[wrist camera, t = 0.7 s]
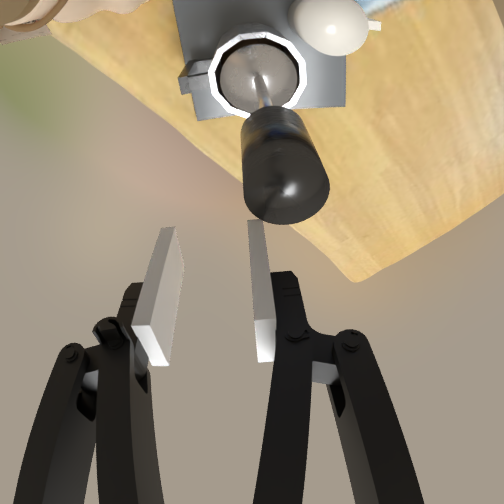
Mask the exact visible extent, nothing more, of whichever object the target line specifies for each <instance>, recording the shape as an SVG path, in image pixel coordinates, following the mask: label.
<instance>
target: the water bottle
mask: <svg viewBox="0 0 504 504" xmlns="http://www.w3.org/2000/svg"><path fill="white" fill-rule="evenodd" d="M148 1H149V0H0V43H1V44H2V45H3V44H7V43H11V42H15V41H20V40H24V39H29V38H34V37H39V36H45V35H50V34H51V32H50V30H49V28H48V27H47V25H46V24H47V23H48V22H50V21H51V20H52V19H53V20H55V21H57V22H61V23H70V22H77V21H80V20H83V19H86V18H88V17H90V16H91V15H93V14H95V13H97V12H99V11H102V10H109V11H112V12H115V13H118V14H127V13H131V12H133V11H134V10H136V9H137V8H138V7H139V6H140V5H141V4H143V3H146V2H148Z"/></svg>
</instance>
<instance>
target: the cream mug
mask: <svg viewBox="0 0 504 504" xmlns="http://www.w3.org/2000/svg"><path fill="white" fill-rule="evenodd" d="M288 23H289V26H290V28H291V29H292V31H293V32H294V33H295V34H296V35H297V36H298V37H299V38H301V39H302V40H304V41H305V42H306V43H308V44H309V45H310V46H312V47H313V48H315V49H316V50H317V51H319V52H321V53H324V54H327V55H331V56H343V55H347V54H350V53H353V52H354V51H356V50H357V49H359V48H360V47H361V46H362V45H363V43H364V42H365V40H366V38H367V35H368V30H378V31H381V22H380V21H377V20H373V19H370V18H367V16H366V14H365V12H364V10H363V9H362V8H361V6H360V5H359V4H358V3H356V2H355V1H354V0H294V2H293V3H292V4H291V6H290V8H289V10H288Z"/></svg>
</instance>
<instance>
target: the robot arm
mask: <svg viewBox="0 0 504 504" xmlns="http://www.w3.org/2000/svg"><path fill="white" fill-rule="evenodd" d="M248 235H249V249H250V265H251V278H252V279H251V280H252V294H253V309H254V321H255V333H256V343H257V355H258V362H270V361H274V365H273V373H272V380H271V388H270V396H269V403H268V410H267V416H266V424H265V431H264V437H263V444H262V450H261V457H260V463H259V469H258V476H257V482H256V488H255V494H254V499H253V504H302V498H303V490H304V481H305V471H306V460H307V448H308V436H309V421H310V405H311V387H312V382H317V383H323V384H326V386H327V390H328V393H329V397H330V401H331V405H332V409H333V413H334V417H335V420H336V424H337V428H338V432H339V436H340V440H341V444H342V448H343V452H344V457H345V461H346V465H347V469H348V473H349V477H350V482H351V486H352V490H353V495H354V499H355V504H424V501H423V497H422V494H421V490H420V487H419V483H418V480H417V476H416V473H415V470H414V467H413V463H412V460H411V457H410V454H409V451H408V448H407V445H406V441H405V439H404V435H403V432H402V430H401V427H400V424H399V421H398V418H397V415H396V412H395V409H394V407H393V404H392V401H391V398H390V396H389V393H388V390H387V387H386V385H385V382H384V380H383V377H382V375H381V372H380V369H379V367H378V364H377V361H376V359H375V356H374V354H373V351H372V349H371V347H370V344H369V342H368V339H367V338H366V336H365V335H364V334H362V333H361V332H359V331H357V330H353V329H349V330H344V331H341V332H339V333H338V334H337V335H336V336H332V335H325V334H321V333H318V332H317V331H315V330H313V329H312V328H311V327H310V326H309V324H308V322H307V318H306V313H305V309H304V304H303V300H302V296H301V291H300V288H299V283H298V278H297V277H296V276H295V275H294V274H293V272H292V271H283V272H273V273H272V272H271V273H270V269H269V262H268V255H267V247H266V241H265V233H264V226H263V220H261V219H257V220H248ZM184 269H185V266H184V262H183V258H182V254H181V250H180V246H179V241H178V237H177V233H176V229H175V227H166V228H161V230H160V233H159V236H158V239H157V242H156V245H155V248H154V251H153V254H152V257H151V260H150V263H149V266H148V270H147V273H146V276H145V279H144V282H140V283H131V285H130V286H129V287H128V288H127V289H126V291H125V293H124V296H123V301H122V302H121V305H120V308H119V311H118V314H117V317H107V318H104V319H102V320H100V321H99V322H98V323H97V324H96V325H95V326H94V328H93V331H92V332H93V334H94V335H95V337H96V338H97V340H98V342H99V343H100V344H99V345H97V346H93V347H89V348H86V349H84V348H83V347H82V346H81V345H80V344H78V343H70V344H68V345H66V346H65V347H64V348H63V349H62V350H61V352H60V353H59V355H58V358H57V360H56V362H55V365H54V367H53V370H52V372H51V375H50V378H49V380H48V383H47V386H46V388H45V391H44V394H43V397H42V399H41V402H40V405H39V408H38V411H37V414H36V417H35V420H34V423H33V426H32V430H31V433H30V436H29V440H28V443H27V447H26V450H25V454H24V458H23V462H22V466H21V470H20V474H19V478H18V483H17V487H16V493H15V497H14V502H13V504H84V499H85V494H86V488H87V482H88V476H89V472H90V467H91V462H92V457H93V452H94V448H95V443H96V456H97V457H96V458H97V459H96V460H97V480H98V495H99V504H164V499H163V493H162V487H161V480H160V473H159V466H158V458H157V450H156V441H155V432H154V421H153V409H152V395H151V379H150V372H149V370H148V368H147V365H148V360H150V362H151V364H152V366H169V363H170V356H171V349H172V342H173V335H174V328H175V322H176V316H177V309H178V303H179V297H180V292H181V285H182V279H183V274H184Z"/></svg>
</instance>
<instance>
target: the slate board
mask: <svg viewBox="0 0 504 504" xmlns="http://www.w3.org/2000/svg"><path fill="white" fill-rule="evenodd" d="M293 2H294V0H173V6H174V11H175V16H176V21H177V26H178V31H179V36H180V41H181V46H182V50H183V55H184V60H185V65H186V64H187V63H188V61H189V60H194V59H197V60H202V59H207V58H213V55H214V52H215V50H216V47H217V45H218V43H219V41H220V38H221V36H222V35H223V34H224V33H226V32H227V31H228V30H230V29H231V28H233V27H234V26H236V25H237V24H243V23H253V22H259V23H262V24H264V25H267V26H269V27H271V28H274V29H276V30H277V31H278V32H280V33H281V34H282V35H283V36H284V37H285V38H287V39H288V40H289V41H290V42H291V43H292V44H293V46H294V47H295V49H296V50H297V51H298V53H299V54H300V55H301V57H302V58H303V60H304V61H305V70H306V86H305V88H304V89H303V91H302V93H301V95H300V96H299V98H298V100H297V102H296V104H295V105H293V106H292V107H290V108H289V109H304V108H323V107H345V98H346V55H343V56H331V55H327V54H324V53H321V52H319V51H317V50H316V49H315V48H313V47H312V46H310V45H309V44H308V43H306V42H305V41H304V40H302V39H301V38H299V37H298V36H297V35H296V34H295V33H294V32H293V31H292V29H291V28H290V26H289V23H288V10H289V8H290V6H291V4H292V3H293ZM207 72H208V71H207ZM201 73H205V72H201ZM191 93H192V98H193V102H194V107H195V112H196V116H197V121H201V120H207V119H213V118H220V117H227V116H234V115H236V114H233V113H230V112H228V111H227V110H226V109H225V108H224V107H223V106H222V105H221V103H220V102H219V101H218V100H217V99H216V98H215V97H214V96H213V95H212V91H211V88H206V89H200V90H195V91H191Z"/></svg>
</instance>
